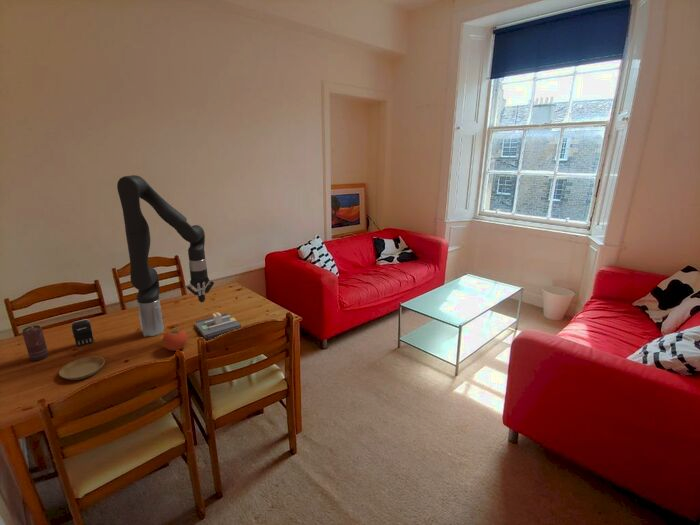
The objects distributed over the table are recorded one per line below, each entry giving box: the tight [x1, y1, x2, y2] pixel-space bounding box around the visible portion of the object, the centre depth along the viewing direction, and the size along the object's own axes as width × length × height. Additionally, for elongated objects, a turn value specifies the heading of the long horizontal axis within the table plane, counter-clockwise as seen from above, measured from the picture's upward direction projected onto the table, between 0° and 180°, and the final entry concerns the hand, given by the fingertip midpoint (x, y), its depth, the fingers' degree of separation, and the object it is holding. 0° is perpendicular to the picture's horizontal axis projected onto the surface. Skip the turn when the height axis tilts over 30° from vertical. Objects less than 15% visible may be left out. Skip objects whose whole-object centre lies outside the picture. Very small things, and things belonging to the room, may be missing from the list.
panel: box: [194, 313, 242, 339], centre depth 178 cm, size 18×15×3 cm
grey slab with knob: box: [195, 313, 242, 341], centre depth 178 cm, size 16×19×2 cm
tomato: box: [162, 328, 189, 352], centre depth 157 cm, size 10×10×10 cm
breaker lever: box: [212, 311, 222, 325], centre depth 177 cm, size 3×4×5 cm
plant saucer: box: [58, 355, 105, 381], centre depth 141 cm, size 15×15×3 cm
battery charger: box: [71, 318, 95, 347], centre depth 159 cm, size 7×4×11 cm, turn 130°
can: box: [21, 325, 49, 362], centre depth 147 cm, size 6×6×14 cm
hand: (202, 301), depth 170 cm, fingers closed
